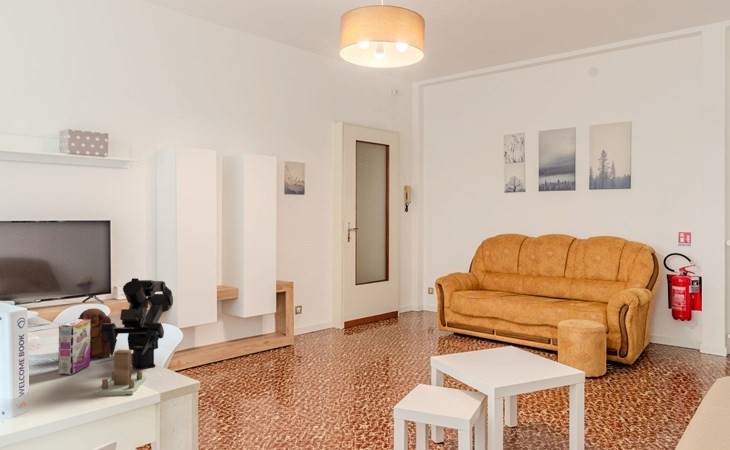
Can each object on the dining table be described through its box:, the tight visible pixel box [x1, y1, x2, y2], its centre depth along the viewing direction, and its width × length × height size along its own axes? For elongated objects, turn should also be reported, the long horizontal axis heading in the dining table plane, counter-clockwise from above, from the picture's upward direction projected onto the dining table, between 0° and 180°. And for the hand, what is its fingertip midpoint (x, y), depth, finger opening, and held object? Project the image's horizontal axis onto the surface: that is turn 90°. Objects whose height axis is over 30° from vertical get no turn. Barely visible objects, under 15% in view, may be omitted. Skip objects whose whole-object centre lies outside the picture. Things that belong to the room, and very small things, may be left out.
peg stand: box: [96, 369, 147, 397], centre depth 164 cm, size 14×10×4 cm
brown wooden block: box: [113, 349, 132, 386], centre depth 164 cm, size 4×4×10 cm
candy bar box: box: [57, 318, 91, 376], centre depth 180 cm, size 11×5×16 cm, turn 178°
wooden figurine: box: [77, 308, 112, 360], centre depth 195 cm, size 12×6×18 cm, turn 109°
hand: (126, 354), depth 167 cm, fingers open, 9 cm apart
